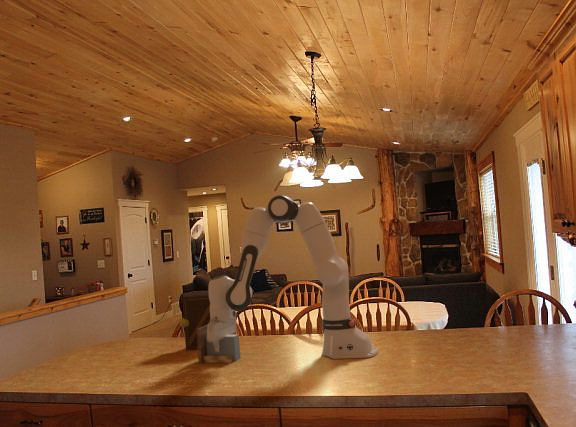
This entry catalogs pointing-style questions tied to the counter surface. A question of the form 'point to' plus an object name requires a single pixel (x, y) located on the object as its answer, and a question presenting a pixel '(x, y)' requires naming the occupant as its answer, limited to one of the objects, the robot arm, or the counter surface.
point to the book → (194, 316)
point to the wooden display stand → (203, 350)
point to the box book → (225, 347)
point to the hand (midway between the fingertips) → (223, 348)
